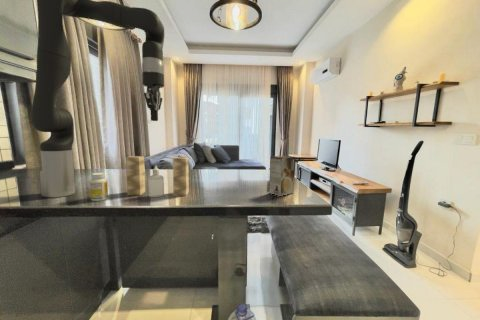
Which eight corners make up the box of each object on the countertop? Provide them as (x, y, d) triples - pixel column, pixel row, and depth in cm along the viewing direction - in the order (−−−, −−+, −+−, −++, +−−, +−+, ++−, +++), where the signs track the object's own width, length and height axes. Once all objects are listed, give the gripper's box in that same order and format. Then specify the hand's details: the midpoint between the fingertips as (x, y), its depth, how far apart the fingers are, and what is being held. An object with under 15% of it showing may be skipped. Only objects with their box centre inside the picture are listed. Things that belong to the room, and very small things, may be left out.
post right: (173, 195, 87) (172, 158, 86) (176, 192, 92) (176, 156, 90) (186, 195, 88) (185, 158, 86) (188, 192, 93) (188, 157, 91)
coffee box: (282, 190, 100) (283, 155, 98) (293, 193, 95) (296, 156, 93) (268, 193, 94) (270, 156, 92) (280, 197, 89) (282, 158, 87)
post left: (127, 195, 87) (125, 157, 85) (133, 191, 92) (131, 156, 90) (140, 195, 87) (139, 157, 85) (145, 191, 92) (144, 156, 90)
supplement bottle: (96, 202, 78) (94, 175, 76) (88, 199, 80) (86, 173, 79) (111, 198, 82) (110, 173, 81) (103, 196, 85) (101, 171, 84)
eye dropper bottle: (160, 198, 84) (159, 167, 83) (146, 197, 85) (145, 166, 83) (165, 194, 88) (165, 165, 87) (152, 193, 89) (152, 164, 88)
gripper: (149, 77, 87) (150, 121, 89) (134, 67, 74) (136, 119, 76) (168, 77, 87) (169, 121, 90) (157, 68, 74) (158, 120, 77)
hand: (154, 120), depth 83 cm, fingers closed
